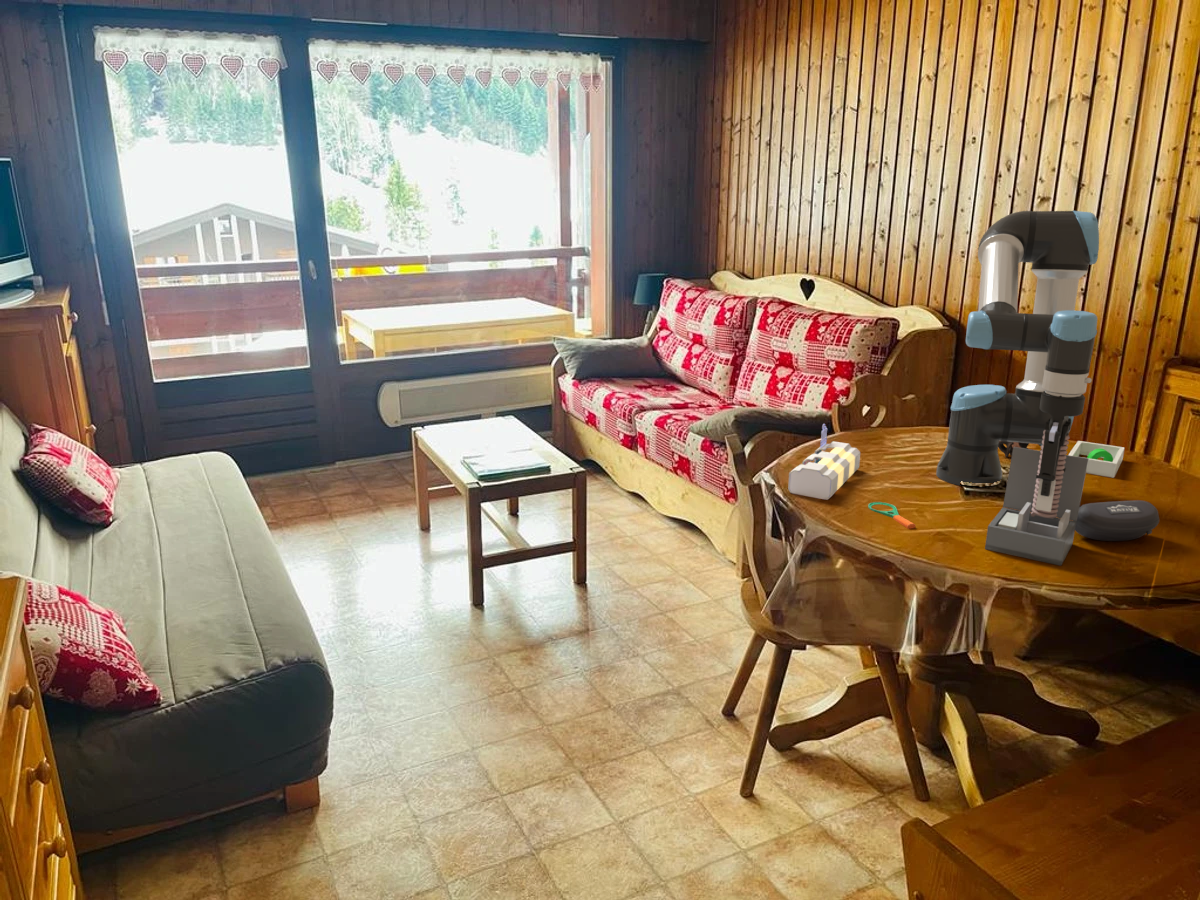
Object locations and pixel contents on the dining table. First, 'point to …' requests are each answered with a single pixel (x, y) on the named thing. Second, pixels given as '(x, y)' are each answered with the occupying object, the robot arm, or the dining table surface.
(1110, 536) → the glasses case
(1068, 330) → the robot arm
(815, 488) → the white striped block
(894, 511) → the magnifying glass
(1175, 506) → the dining table surface
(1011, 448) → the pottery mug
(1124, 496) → the dining table surface
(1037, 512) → the coil
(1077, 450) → the parts corral
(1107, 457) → the mechanical part
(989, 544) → the case
